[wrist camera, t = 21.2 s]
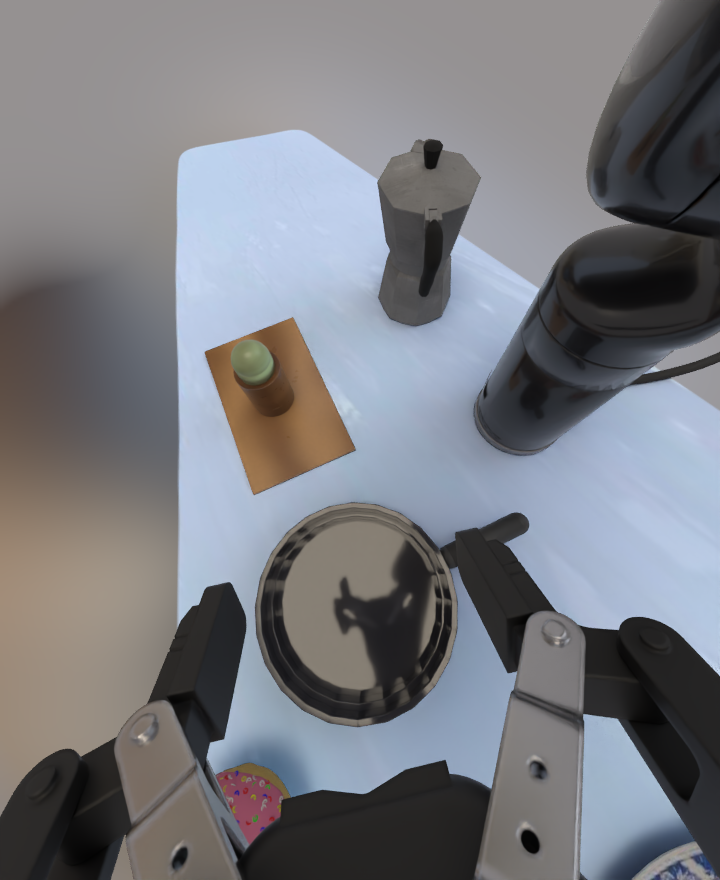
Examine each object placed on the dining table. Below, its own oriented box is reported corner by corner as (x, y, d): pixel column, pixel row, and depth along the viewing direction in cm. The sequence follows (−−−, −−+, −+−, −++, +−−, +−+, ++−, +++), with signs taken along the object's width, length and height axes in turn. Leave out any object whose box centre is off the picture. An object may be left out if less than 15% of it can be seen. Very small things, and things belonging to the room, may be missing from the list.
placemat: (293, 318, 46) (292, 317, 46) (355, 450, 40) (355, 449, 39) (205, 353, 45) (204, 351, 45) (254, 494, 38) (253, 494, 38)
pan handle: (516, 510, 34) (524, 507, 32) (528, 530, 33) (537, 527, 32) (432, 551, 33) (435, 550, 31) (443, 572, 32) (447, 572, 31)
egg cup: (295, 380, 43) (272, 325, 33) (292, 416, 41) (268, 370, 32) (256, 381, 43) (222, 327, 34) (252, 417, 41) (215, 371, 32)
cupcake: (207, 750, 31) (108, 851, 19) (304, 731, 31) (262, 822, 20) (209, 886, 28) (93, 1100, 16) (317, 865, 28) (276, 1063, 16)
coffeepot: (377, 261, 49) (376, 98, 32) (445, 258, 49) (481, 92, 32) (378, 356, 44) (378, 220, 27) (456, 354, 43) (505, 215, 27)
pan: (398, 484, 38) (400, 473, 34) (481, 651, 32) (497, 663, 28) (247, 553, 36) (230, 551, 32) (307, 743, 30) (296, 770, 26)
